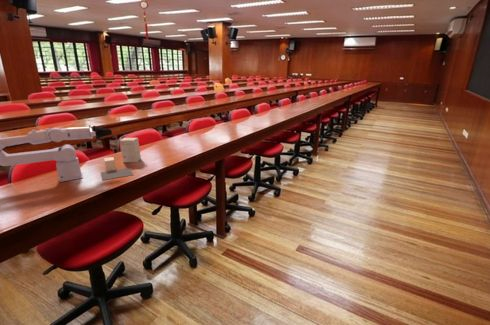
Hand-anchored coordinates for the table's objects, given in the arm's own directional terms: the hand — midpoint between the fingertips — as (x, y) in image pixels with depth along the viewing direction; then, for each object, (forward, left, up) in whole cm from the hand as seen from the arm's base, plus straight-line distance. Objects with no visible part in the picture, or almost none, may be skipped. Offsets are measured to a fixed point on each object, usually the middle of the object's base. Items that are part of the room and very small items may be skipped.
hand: (110, 131), depth 137 cm
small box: (+9, +12, -21) cm, 26 cm away
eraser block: (-3, +3, -21) cm, 21 cm away
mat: (-1, -7, -21) cm, 22 cm away
